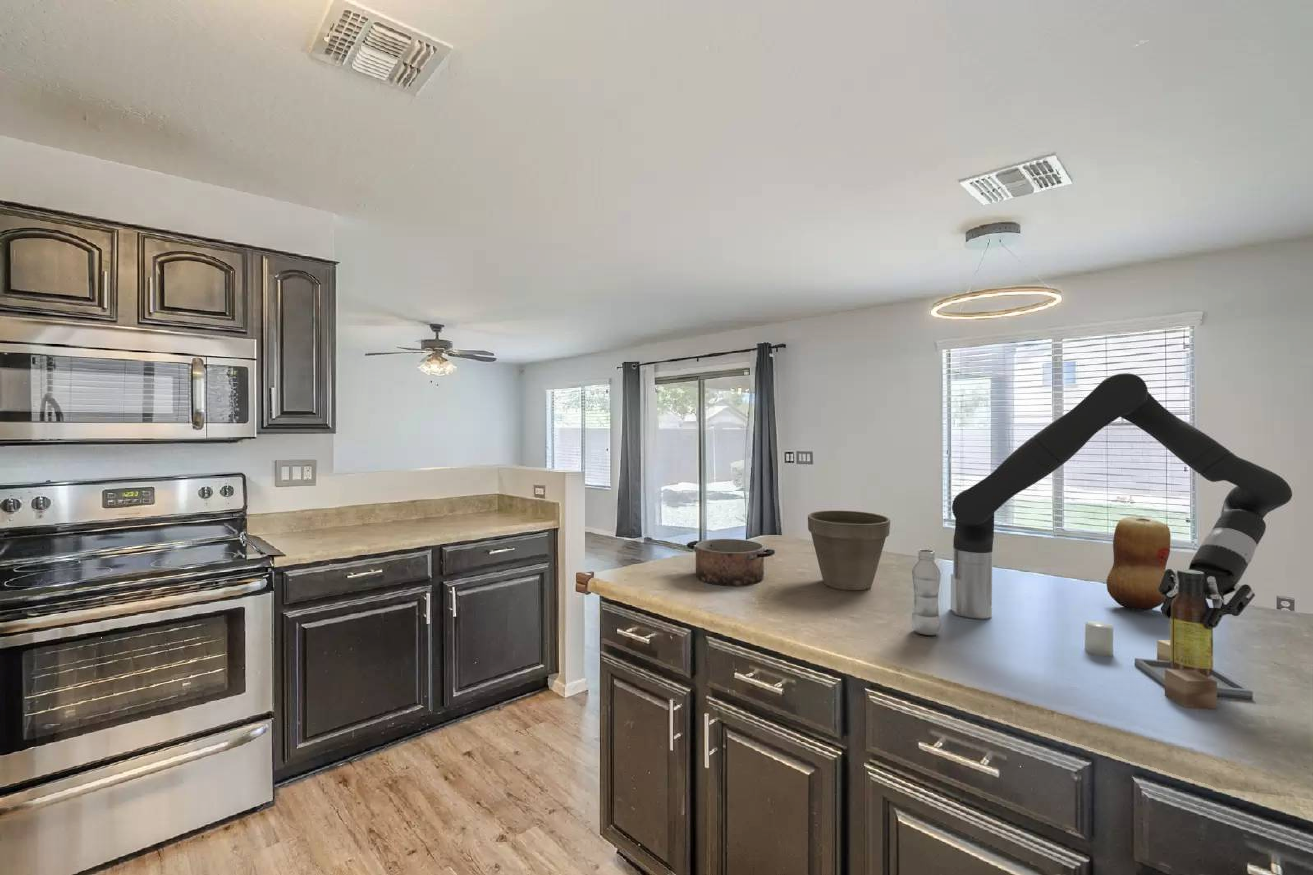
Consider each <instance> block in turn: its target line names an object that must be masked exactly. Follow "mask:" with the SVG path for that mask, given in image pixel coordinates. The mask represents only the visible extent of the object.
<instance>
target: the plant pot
mask: <svg viewBox="0 0 1313 875" xmlns="http://www.w3.org/2000/svg"><path fill="white" fill-rule="evenodd" d="M807 530H808V532H809V533H811V539H812V543H813V547H814V550H815V555H816V558H817V559H816V560H817V562H818V567H819V571H820V574H821V577H822V580H823V583H824V585H826V586H828V587H830V588H833V589H837V590H843V591H864V590H868V589H870V588H871V587H872V586H873V584H874V580H875V577H876V573H877V571H878V567H879V564H880V561H881V558H882V557H881V556H882V552H883V549H884V546H885V542H886V539H887V537H889V535H890V530H891V518H889V517H887V516H885V515H881V514H876V513H872V512H865V511H855V510H818V511H813V512H810V513H809V514H808V515H807Z"/></svg>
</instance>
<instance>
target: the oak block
mask: <svg viewBox="0 0 1313 875" xmlns="http://www.w3.org/2000/svg"><path fill="white" fill-rule="evenodd" d="M1156 641H1157V642H1156V643H1157V644H1156V660H1163V661H1171V660H1170V639H1161V640H1160V639H1157V640H1156Z"/></svg>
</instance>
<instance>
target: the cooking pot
mask: <svg viewBox="0 0 1313 875" xmlns="http://www.w3.org/2000/svg"><path fill="white" fill-rule="evenodd" d="M686 547H687V548H688V549H691V550H694V554H695V577H696V578H697V579H698V580H699V581H701V582H703V583H705V584H709V585H715V586H723V587H743V586H744V587H745V586H750V585H751V586H752V585H755V584H758V583H760V582H762V581H763V580H764V577H765V576H764V575H765V574H764V573H765V558H767V557H771V556H773V555H775V554H776V553H775V552H776V551H775V550H774V549H771V548H769V549H767V548H766V549H765V547H764V545H763V544H762V543H760V542H757V541H753V540H747V539H738V538H737V539H736V538H715V539H713V538H712V539H705V540H693V541H689V542H688V543H686Z"/></svg>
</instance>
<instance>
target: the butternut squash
mask: <svg viewBox="0 0 1313 875" xmlns="http://www.w3.org/2000/svg"><path fill="white" fill-rule="evenodd" d="M1113 533H1114V534H1113V539H1112V550H1113V564H1112V567H1111V569H1110V571H1109V573H1108V575H1107V578H1106V580H1105V581H1106V583H1105V584H1106V591H1107V593H1108V594H1109V595H1110V597H1111V598H1112V599H1113V600H1114V601H1115V602H1116V603H1117V604H1118V605H1119V606H1121V607H1123V608H1124V609H1128V610H1136V611H1142V612H1143V611H1152V610H1153V609H1156V608H1157V607H1160V606H1162V605H1163V603H1164V601H1165V600H1166V599H1164V598H1163V596H1162V595H1161V593H1160V592H1159V591H1158V589H1159V586H1160V584H1161V581H1162V579H1163V576H1164V574H1165V571H1166V570H1167V569H1166V568H1167V562H1168V559H1169V557H1170V554H1171V538H1172V536H1171V530H1170V528H1169V526H1168V525H1167V524H1166V523H1164V522H1161V521H1158V520H1154V519H1150V518H1146V517H1143V516H1142V517H1141V516H1128V517H1124V518H1122V519H1120V520H1119V521H1118V523H1117V524H1116V525H1115V528H1114V532H1113Z"/></svg>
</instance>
